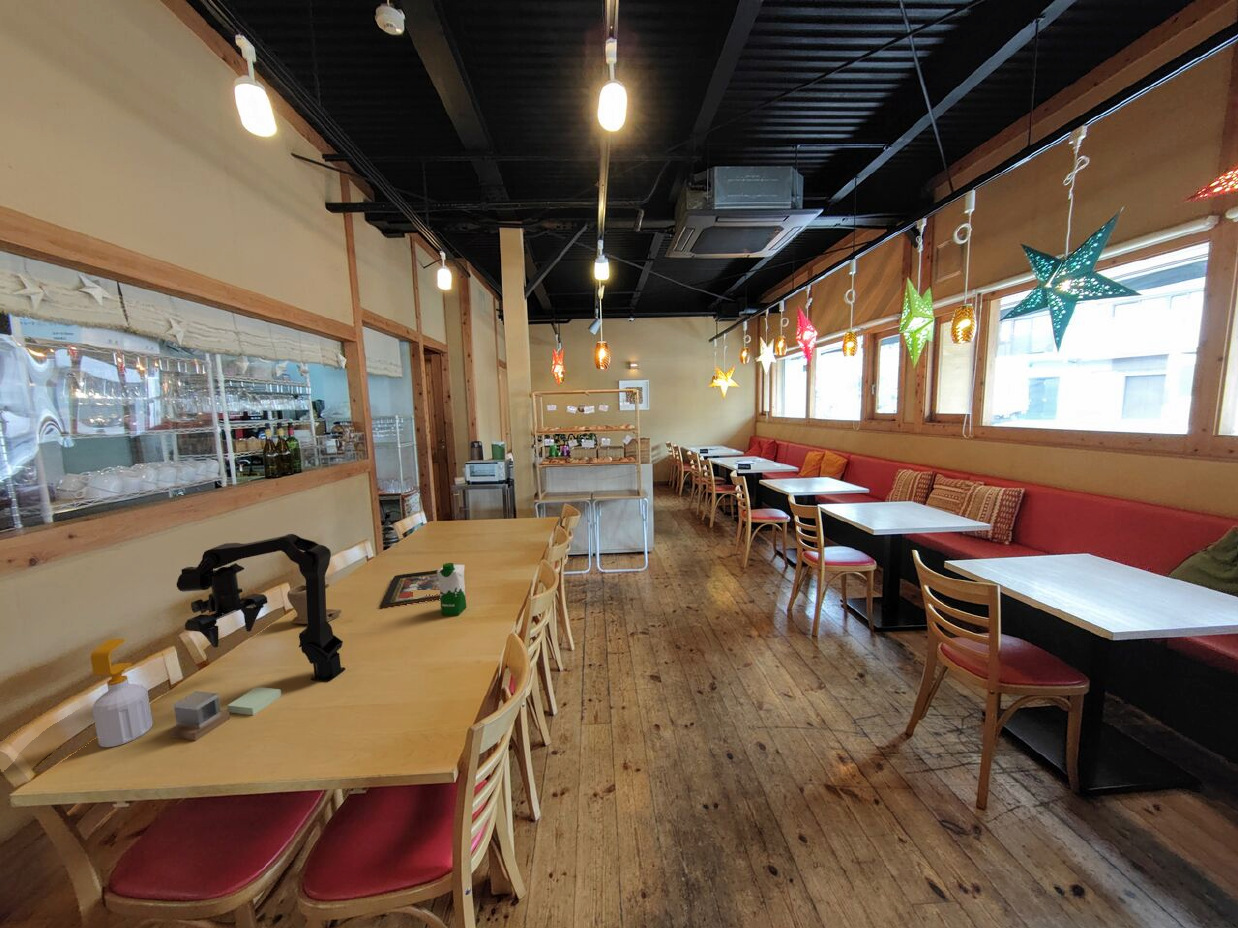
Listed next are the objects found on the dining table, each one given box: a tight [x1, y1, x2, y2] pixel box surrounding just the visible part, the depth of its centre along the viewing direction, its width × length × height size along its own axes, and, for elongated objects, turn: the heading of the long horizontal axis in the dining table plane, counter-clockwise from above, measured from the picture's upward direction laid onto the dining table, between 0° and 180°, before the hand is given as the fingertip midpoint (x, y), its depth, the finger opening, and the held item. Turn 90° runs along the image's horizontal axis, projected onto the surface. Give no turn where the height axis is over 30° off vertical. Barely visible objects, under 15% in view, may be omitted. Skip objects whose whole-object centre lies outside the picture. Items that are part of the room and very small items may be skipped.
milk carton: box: [437, 562, 467, 617], centre depth 175 cm, size 9×9×20 cm
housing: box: [173, 690, 222, 729], centre depth 113 cm, size 7×5×6 cm
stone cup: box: [286, 582, 343, 625], centre depth 170 cm, size 15×12×15 cm
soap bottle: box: [90, 638, 153, 748], centre depth 110 cm, size 9×9×25 cm
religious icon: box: [380, 569, 440, 610], centre depth 201 cm, size 38×35×3 cm
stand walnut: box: [168, 710, 231, 742], centre depth 113 cm, size 8×8×2 cm
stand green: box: [227, 686, 282, 716], centre depth 122 cm, size 8×8×2 cm
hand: (232, 639), depth 131 cm, fingers open, 9 cm apart
